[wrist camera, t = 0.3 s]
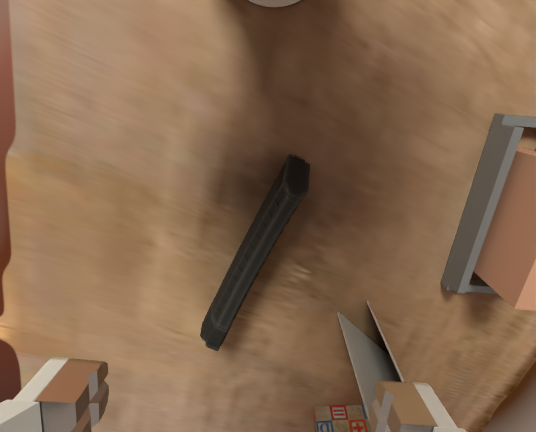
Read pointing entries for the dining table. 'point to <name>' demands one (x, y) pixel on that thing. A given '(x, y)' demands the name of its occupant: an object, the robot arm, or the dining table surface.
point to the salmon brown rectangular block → (513, 237)
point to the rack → (483, 202)
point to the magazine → (255, 249)
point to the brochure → (368, 360)
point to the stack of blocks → (341, 419)
